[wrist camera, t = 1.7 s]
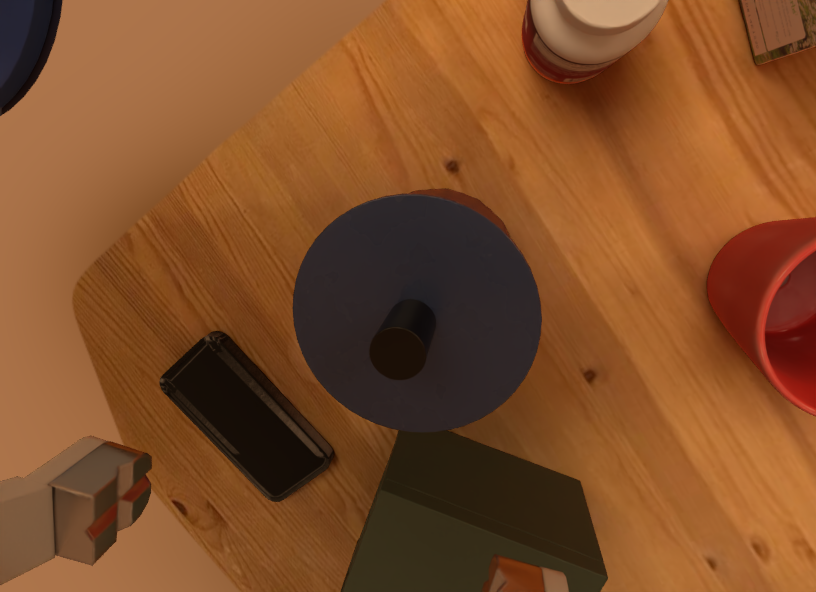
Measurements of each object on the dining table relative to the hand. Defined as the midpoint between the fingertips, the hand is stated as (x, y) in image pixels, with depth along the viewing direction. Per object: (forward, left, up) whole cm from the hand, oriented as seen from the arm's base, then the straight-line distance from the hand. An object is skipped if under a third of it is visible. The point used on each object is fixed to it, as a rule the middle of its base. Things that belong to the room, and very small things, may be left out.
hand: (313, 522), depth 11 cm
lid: (0, 0, -14) cm, 14 cm away
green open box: (+9, -20, -25) cm, 33 cm away
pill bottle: (+3, +17, -25) cm, 31 cm away
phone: (-11, -18, -25) cm, 33 cm away
